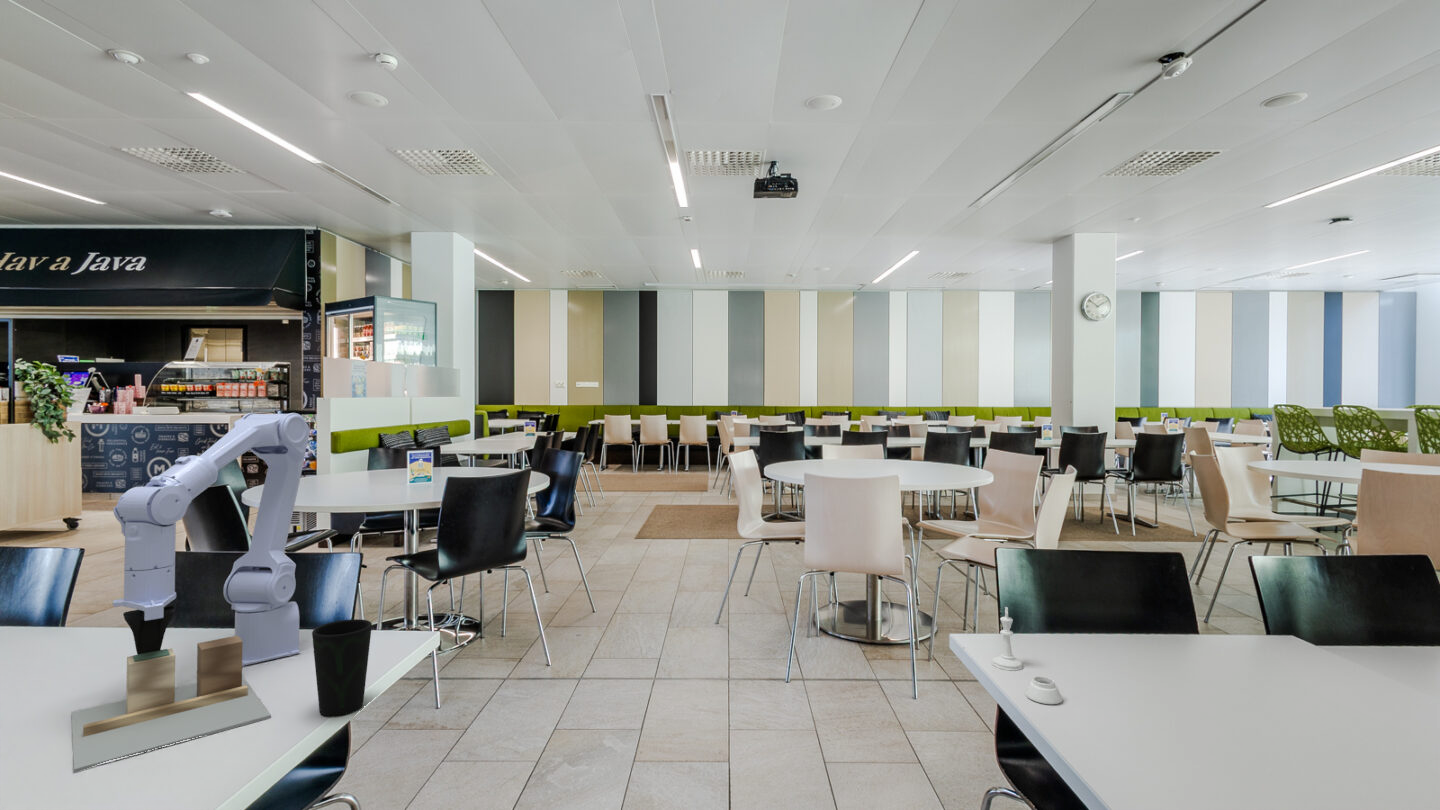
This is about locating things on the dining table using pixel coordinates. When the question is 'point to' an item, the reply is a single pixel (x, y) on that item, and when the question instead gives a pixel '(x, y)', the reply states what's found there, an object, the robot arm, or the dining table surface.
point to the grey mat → (159, 726)
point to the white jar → (1043, 691)
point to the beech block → (150, 680)
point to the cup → (341, 665)
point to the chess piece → (1006, 648)
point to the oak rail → (163, 711)
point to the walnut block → (219, 665)
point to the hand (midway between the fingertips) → (148, 657)
